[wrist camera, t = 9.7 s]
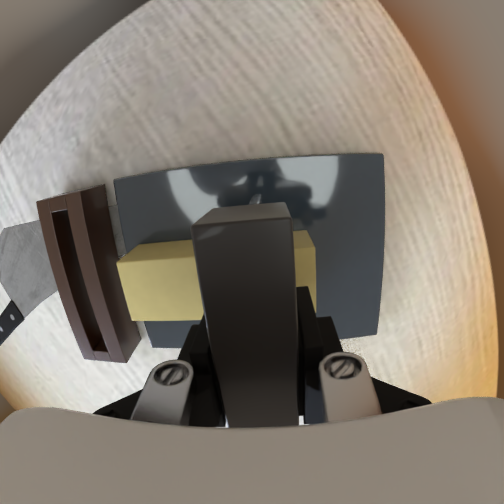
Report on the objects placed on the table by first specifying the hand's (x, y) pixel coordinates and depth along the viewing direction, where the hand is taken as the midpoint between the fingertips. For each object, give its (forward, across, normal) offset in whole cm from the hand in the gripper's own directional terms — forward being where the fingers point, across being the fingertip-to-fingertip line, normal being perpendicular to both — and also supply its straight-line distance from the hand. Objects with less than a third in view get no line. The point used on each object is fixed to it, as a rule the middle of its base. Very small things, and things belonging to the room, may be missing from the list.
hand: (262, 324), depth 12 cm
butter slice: (+7, -2, 0) cm, 7 cm away
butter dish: (+7, +1, 0) cm, 7 cm away
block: (+7, +12, 0) cm, 14 cm away
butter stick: (+7, +4, 0) cm, 8 cm away
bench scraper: (+5, 0, 0) cm, 5 cm away
